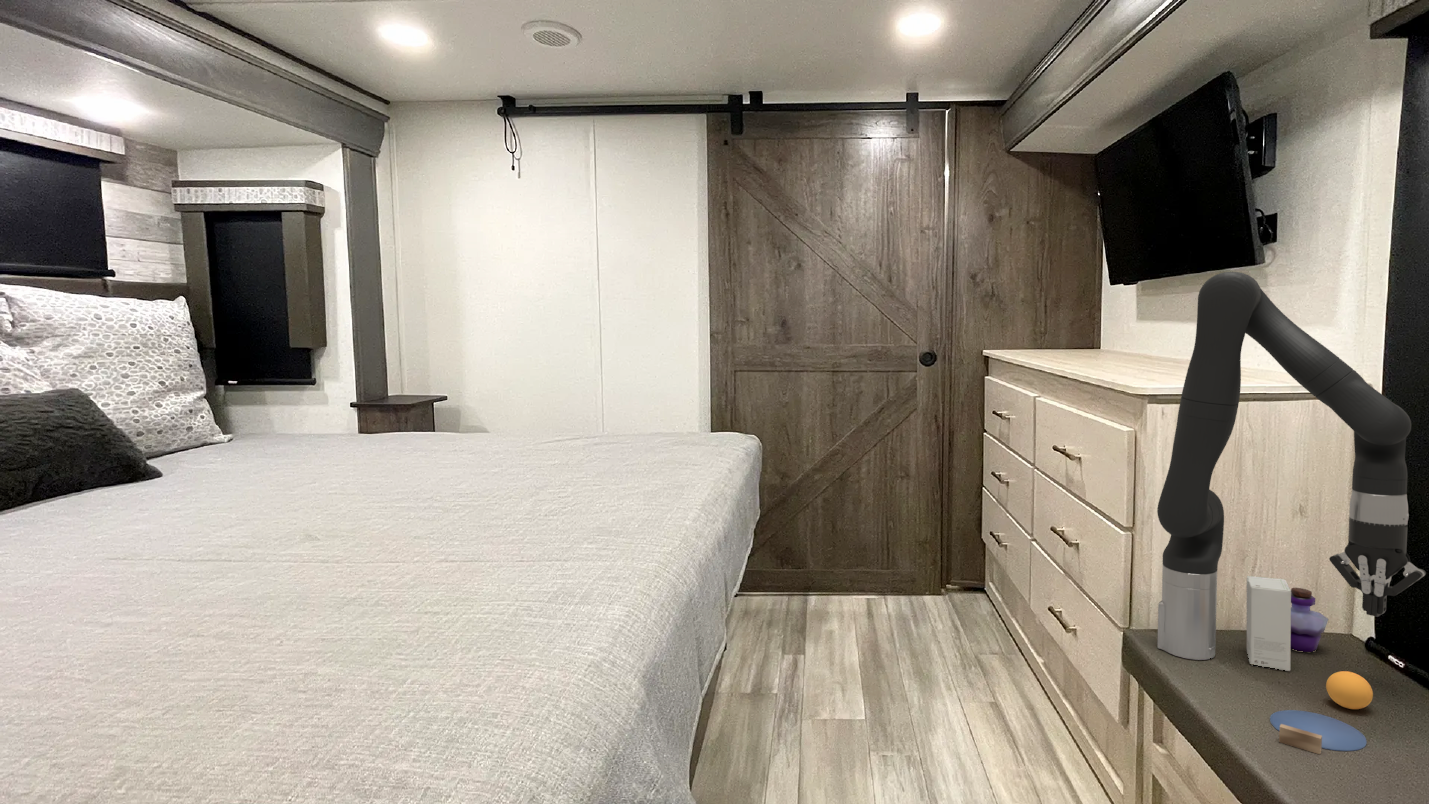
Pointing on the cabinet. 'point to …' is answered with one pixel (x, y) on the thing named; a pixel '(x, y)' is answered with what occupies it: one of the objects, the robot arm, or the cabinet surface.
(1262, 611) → the skincare box
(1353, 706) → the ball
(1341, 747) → the disc
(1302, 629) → the potion bottle
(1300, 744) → the wall
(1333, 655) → the cabinet surface
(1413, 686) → the cabinet surface
